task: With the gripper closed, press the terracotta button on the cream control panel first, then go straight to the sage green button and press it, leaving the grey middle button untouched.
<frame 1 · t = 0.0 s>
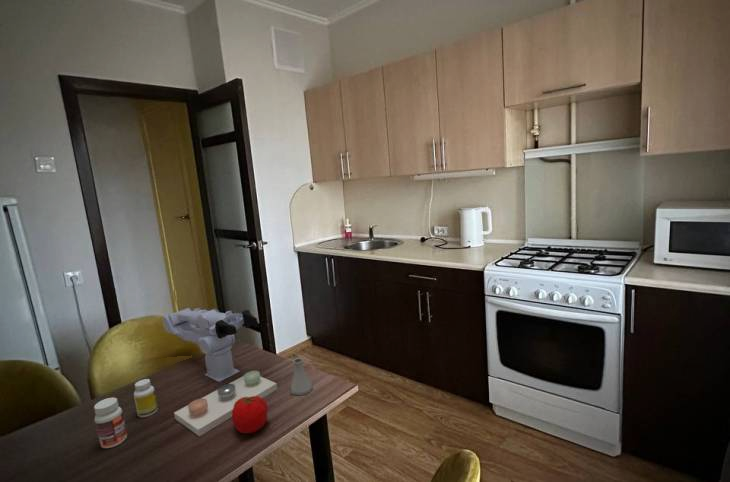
hand: (246, 325, 118), 22 cm above the table, tool horizontal, fingers open, 7 cm apart
control panel: (228, 403, 115), on the table
sage button: (252, 377, 121), point 4 cm above the table, slide at 0.0 cm
tomato: (251, 428, 103), on the table
supplement bottle: (148, 412, 114), on the table
grey button: (226, 390, 114), point 4 cm above the table, slide at 0.0 cm
flask: (301, 390, 119), on the table
pill bottle: (114, 441, 102), on the table
terracotta button: (198, 406, 108), point 4 cm above the table, slide at 0.0 cm
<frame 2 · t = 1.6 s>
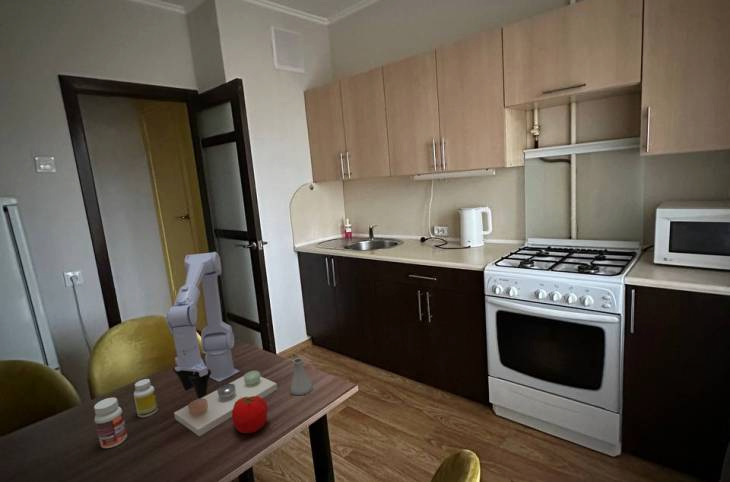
hand: (195, 392, 107), 8 cm above the table, tool pointing down, fingers open, 7 cm apart
nothing on the table moved.
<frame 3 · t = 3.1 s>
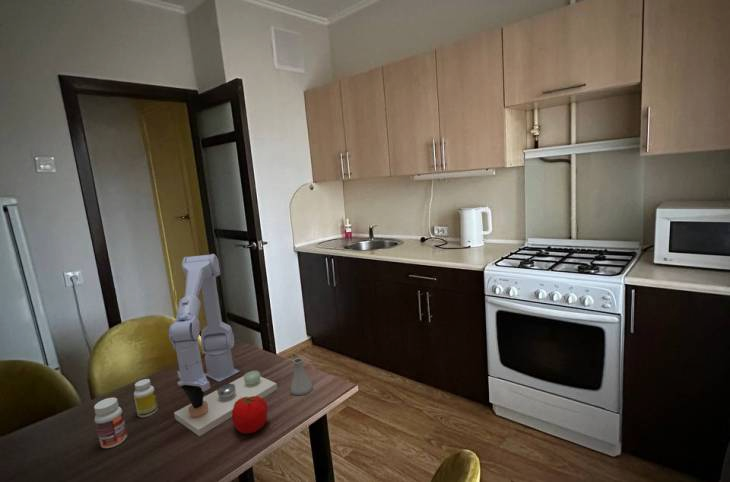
hand: (198, 406, 108), 4 cm above the table, tool pointing down, fingers closed, pressing on terracotta button
terracotta button: (198, 408, 108), point 3 cm above the table, slide at 0.8 cm, touching gripper
everything else where it was.
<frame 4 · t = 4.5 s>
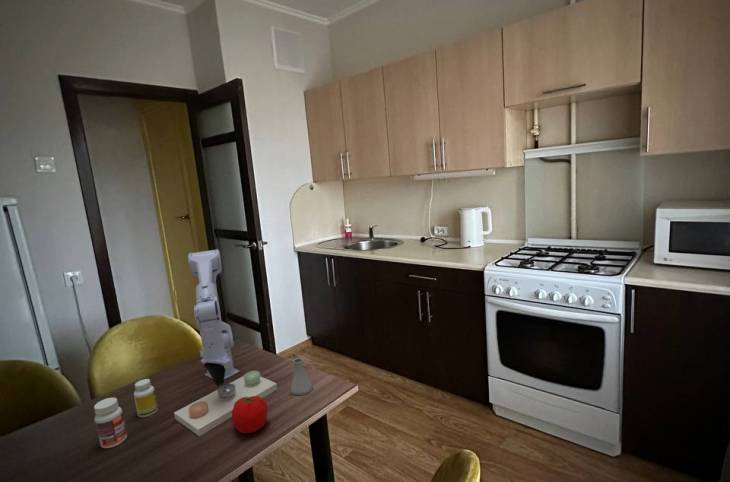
hand: (219, 383, 113), 7 cm above the table, tool pointing down, fingers closed
terracotta button: (198, 409, 108), point 3 cm above the table, slide at 0.9 cm
everything else where it was.
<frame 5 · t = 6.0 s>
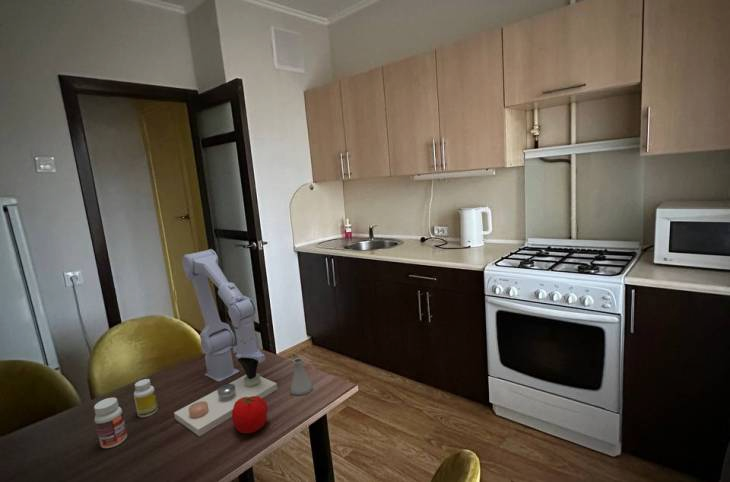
hand: (252, 377, 121), 4 cm above the table, tool pointing down, fingers closed, pressing on sage button
sage button: (252, 379, 121), point 3 cm above the table, slide at 0.9 cm, touching gripper
everything else where it was.
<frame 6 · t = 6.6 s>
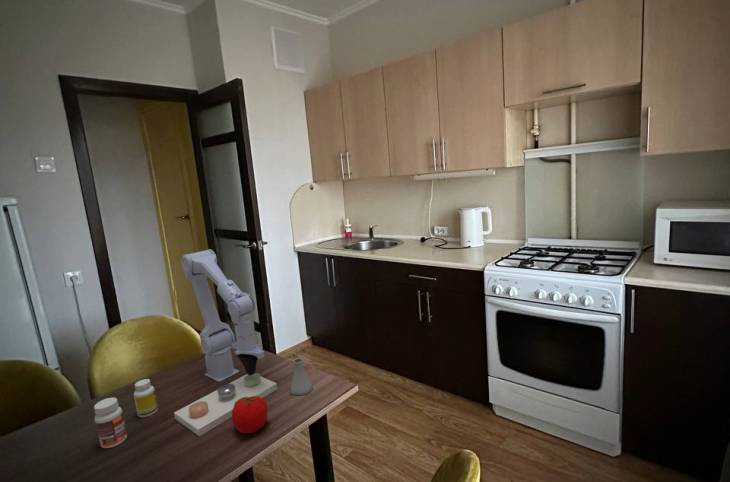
hand: (251, 373, 121), 5 cm above the table, tool pointing down, fingers closed
sage button: (252, 379, 121), point 3 cm above the table, slide at 0.9 cm
everything else where it was.
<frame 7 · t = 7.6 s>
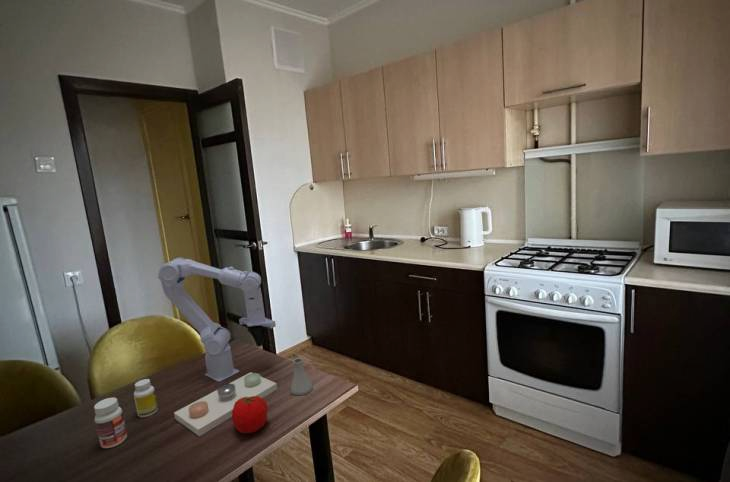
hand: (260, 345, 132), 9 cm above the table, tool pointing down, fingers closed
nothing on the table moved.
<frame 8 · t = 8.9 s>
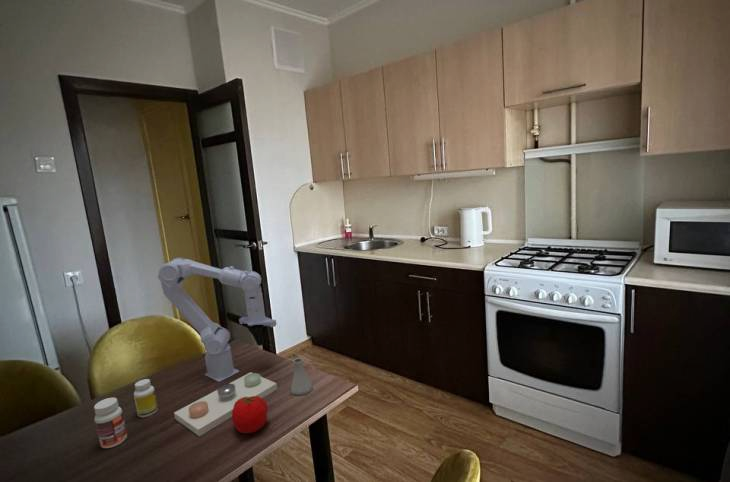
hand: (260, 344, 133), 9 cm above the table, tool pointing down, fingers closed
nothing on the table moved.
at the end: terracotta button slide at 0.9 cm; sage button slide at 0.9 cm; grey button slide at 0.0 cm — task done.
